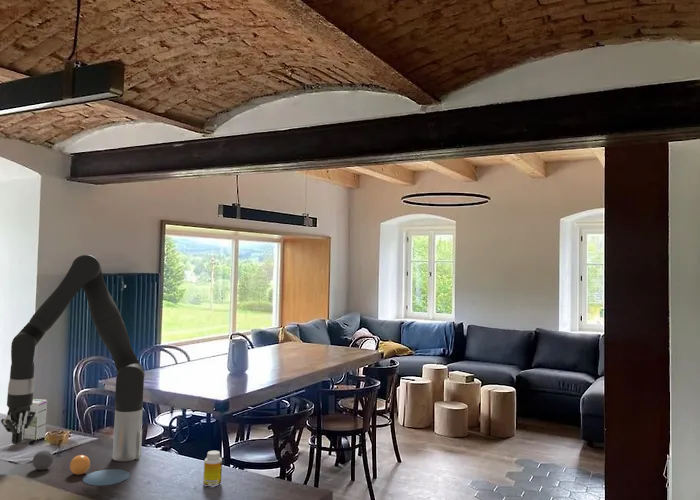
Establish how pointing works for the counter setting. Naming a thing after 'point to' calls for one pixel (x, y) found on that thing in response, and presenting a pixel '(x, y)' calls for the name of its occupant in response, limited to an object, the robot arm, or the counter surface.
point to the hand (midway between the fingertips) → (16, 443)
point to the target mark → (106, 477)
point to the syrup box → (36, 421)
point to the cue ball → (42, 460)
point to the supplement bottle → (212, 469)
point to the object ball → (80, 464)
